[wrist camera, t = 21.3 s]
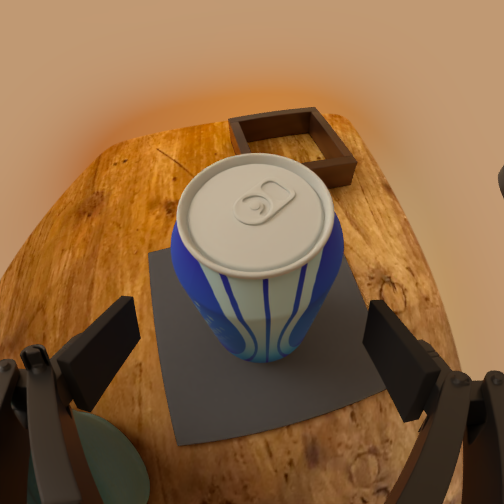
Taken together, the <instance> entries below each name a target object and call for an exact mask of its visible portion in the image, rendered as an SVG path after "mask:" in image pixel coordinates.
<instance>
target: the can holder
mask: <svg viewBox="0 0 504 504" xmlns="http://www.w3.org/2000/svg"><path fill="white" fill-rule="evenodd" d="M228 122H229V130H230V138H231V143H232V145H233V148H234V151H235V154H236V155H241V154H248V153H251V151H250V148H249V146H248V143H247V142H251V141H257V140H263V139H269V138H275V137H281V136H288V135H295V134H303V133H309V134H310V135H311V137H312V138H313V140H314V141H315V143H316V144H317V146H318V147H319V149H320V150H321V152H322V153H323V155H324V157H325V158H326V160H319V161H312V162H306V163H301V164H303V165H304V166H306V167H307V168H309V169H310V170H311V171H313V172H314V173H315V174H316V175H317V176H318V177H319V178H320V179H321V180H322V181H323V183H324V184H325V185H326V187H327V189H329V188H335V187H340V186H346V185H351V182H352V178H353V175H354V172H355V168H356V165H357V161H356V159H355V158H354V157H353V155H352V154H351V152H350V151H349V150H348V148H347V147H346V146H345V144H344V143H343V142H342V140H341V139H340V138H339V136H338V135H337V134H336V132H335V131H334V130H333V129H332V127H331V126H330V125H329V124H328V122H327V121H326V120H325V119H324V117H323V116H322V115H321V114H320V112H319V111H318V110H317V109H316V108H315V107H309V108H300V109H289V110H281V111H273V112H267V113H259V114H254V115H247V116H241V117H235V118H230V119H228Z"/></svg>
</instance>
